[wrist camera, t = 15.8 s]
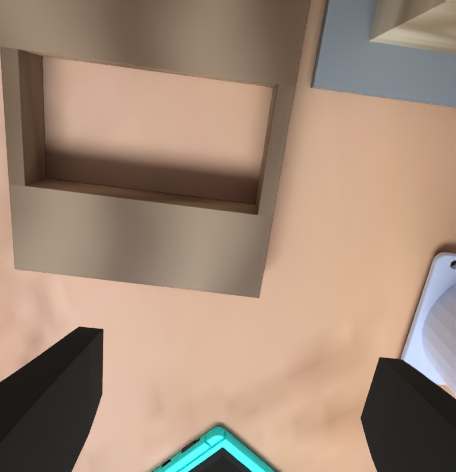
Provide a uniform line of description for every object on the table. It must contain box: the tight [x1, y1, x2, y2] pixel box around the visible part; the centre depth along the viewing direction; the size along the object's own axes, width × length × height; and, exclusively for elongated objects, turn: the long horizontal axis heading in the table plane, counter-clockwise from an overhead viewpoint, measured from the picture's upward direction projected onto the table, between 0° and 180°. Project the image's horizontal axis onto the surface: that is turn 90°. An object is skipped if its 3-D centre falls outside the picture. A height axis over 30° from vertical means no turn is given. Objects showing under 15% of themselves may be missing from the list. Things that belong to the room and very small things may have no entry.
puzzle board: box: [0, 0, 310, 298], centre depth 15 cm, size 12×22×2 cm, turn 173°
